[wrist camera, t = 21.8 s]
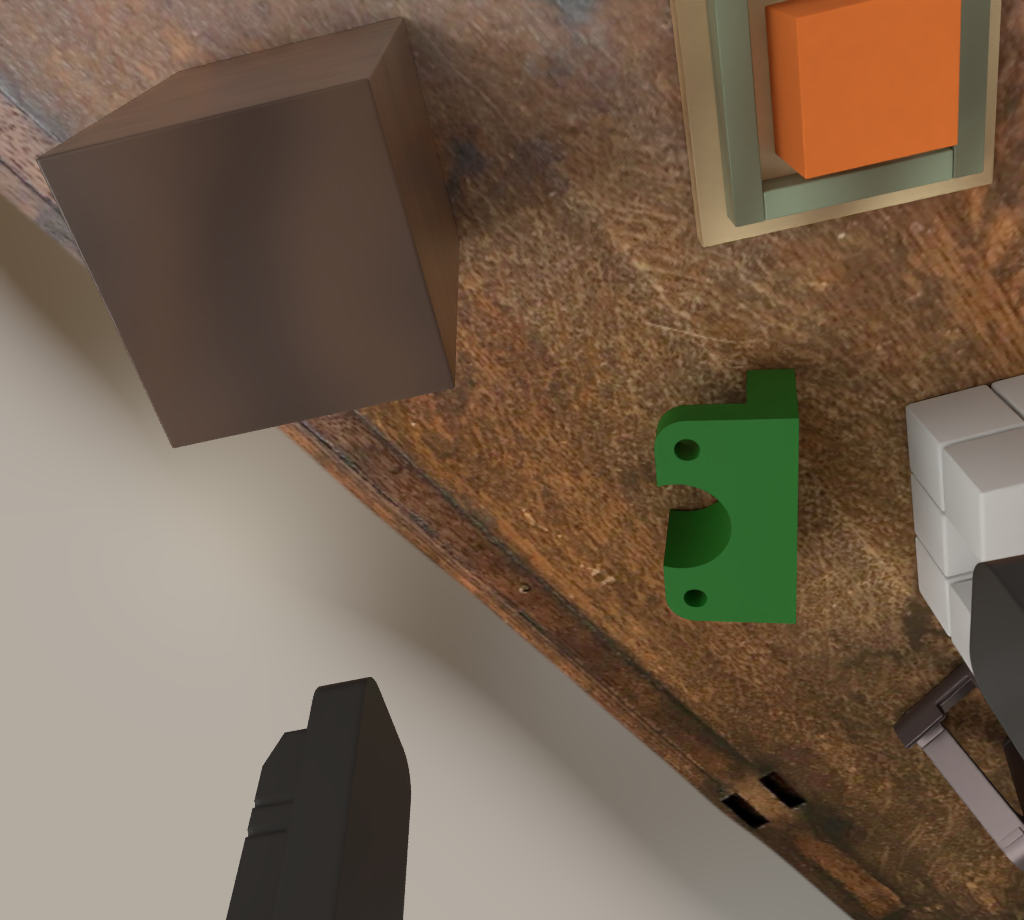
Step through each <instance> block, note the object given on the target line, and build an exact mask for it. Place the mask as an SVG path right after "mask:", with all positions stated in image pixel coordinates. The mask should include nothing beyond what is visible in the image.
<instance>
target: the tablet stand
mask: <svg viewBox="0 0 1024 920" xmlns="http://www.w3.org/2000/svg"><path fill="white" fill-rule="evenodd" d="M975 687H977V688H979V687H978V685H977V682H976V679H975V677H974V675H973V673H972V672H971V670H970V669H969V667H968V666H967V664H966V662H963V663H962V664H961V665H960V666H959V667H958V668H957V669H956V670H954V671H953V672H952V673H951V674H950V675H949V676H948V677H947V678H945V679H944V680H943V681H942V682H941V683H940V684H939V685H938V686H937V687H935V688H934V689H933V690H932V691H931V692H930V693H929V694H928V695H926V696H925V697H924V698H923V699H922V700H921V701H920V702H919V703H917V704H916V705H915V706H914V707H913V708H911V709H909V710H908V711H907V712H906V713H905V715H904V716H903V717H902V718H901V719H900V720H898V721H897V722H896V723H895V724H894V730H895V732H896V734H897V735H898V737H899V738H900V740H901V742H902V743H903V745H904V747H907V748H908V749H910V748H911V747H912V746H913V745H914V744H916V743H917V744H918V746H919V747H920V748H922V749H923V750H924V752H925V753H926V754H927V756H928V757H929V758H930V759H931V761H932V762H933V763H934V764H935V766H936V767H937V768H938V770H939V771H940V772H941V773H942V775H943V776H944V777H945V778H946V780H947V781H948V782H949V784H950V785H951V786H952V787H953V789H954V790H955V791H956V792H957V794H958V795H959V796H960V798H961V799H962V800H963V801H964V803H965V804H966V805H967V806H968V808H969V809H970V810H971V812H972V813H973V814H974V815H975V817H976V818H977V819H978V820H979V822H980V823H981V824H982V826H983V827H984V828H985V829H986V831H987V832H988V833H989V834H990V836H991V837H992V838H993V839H994V841H995V842H996V843H997V845H998V846H999V847H1000V848H1001V850H1002V851H1003V852H1004V853H1005V855H1006V856H1007V857H1008V858H1009V860H1010V861H1011V862H1012V863H1013V864H1015V865H1016V866H1017V867H1018V868H1020V869H1021V870H1023V871H1024V760H1023V758H1022V757H1021V755H1020V754H1019V752H1018V750H1017V749H1016V747H1015V746H1014V744H1013V743H1012V741H1011V739H1010V738H1009V736H1008V737H1007V738H1006V739H1005V740H1004V742H1003V745H1002V746H1003V748H1004V752H1005V756H1006V759H1007V762H1008V766H1009V769H1010V772H1011V776H1012V779H1013V782H1014V786H1015V789H1016V792H1017V796H1018V799H1019V802H1020V806H1021V809H1022V812H1023V816H1021V815H1019V814H1018V813H1017V812H1016V811H1015V810H1014V809H1013V808H1012V807H1011V806H1010V805H1009V803H1008V802H1007V801H1006V800H1005V798H1004V797H1003V796H1002V795H1001V794H1000V792H999V791H998V790H997V789H996V787H995V786H994V785H993V784H992V783H991V781H990V780H989V779H988V778H987V776H986V775H985V774H984V773H983V772H982V770H981V769H980V768H979V767H978V765H977V764H976V763H975V762H974V761H973V759H972V758H971V757H970V756H969V755H968V753H967V752H966V751H965V750H964V748H963V747H962V746H961V745H960V744H959V742H958V741H957V740H956V739H955V737H954V736H953V735H952V734H951V733H950V731H949V730H948V729H947V728H946V726H945V725H944V724H943V723H942V722H941V721H942V720H943V719H944V718H945V717H946V712H947V711H948V710H949V709H951V708H952V707H953V706H954V705H955V704H956V703H957V702H959V701H960V700H961V699H962V698H963V697H964V696H965V695H967V694H968V693H969V692H970V691H971V690H972V689H974V688H975Z"/></svg>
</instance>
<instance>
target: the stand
mask: <svg viewBox="0 0 1024 920" xmlns="http://www.w3.org/2000/svg"><path fill="white" fill-rule="evenodd" d="M37 163H38V165H39V167H40V169H41V172H42V174H43V176H44V178H45V180H46V182H47V184H48V186H49V188H50V191H51V193H52V195H53V197H54V199H55V201H56V203H57V205H58V207H59V210H60V212H61V214H62V216H63V218H64V220H65V222H66V224H67V226H68V229H69V231H70V233H71V235H72V237H73V239H74V241H75V243H76V245H77V248H78V250H79V252H80V254H81V256H82V258H83V260H84V262H85V264H86V267H87V269H88V271H89V273H90V275H91V277H92V279H93V281H94V283H95V285H96V288H97V290H98V292H99V294H100V296H101V298H102V300H103V302H104V304H105V306H106V309H107V311H108V313H109V315H110V317H111V319H112V321H113V323H114V326H115V328H116V330H117V332H118V334H119V336H120V338H121V340H122V342H123V345H124V347H125V349H126V351H127V353H128V355H129V357H130V359H131V361H132V363H133V365H134V368H135V370H136V372H137V374H138V376H139V378H140V380H141V383H142V385H143V387H144V389H145V391H146V393H147V395H148V397H149V399H150V402H151V404H152V406H153V408H154V410H155V412H156V414H157V416H158V418H159V420H160V423H161V424H162V427H163V429H164V431H165V433H166V435H167V437H168V439H169V442H170V444H171V446H172V447H173V448H177V447H181V446H186V445H191V444H195V443H200V442H204V441H209V440H214V439H218V438H223V437H228V436H233V435H237V434H242V433H246V432H251V431H256V430H261V429H265V428H270V427H275V426H279V425H284V424H289V423H293V422H298V421H303V420H307V419H312V418H317V417H321V416H326V415H331V414H335V413H340V412H345V411H349V410H354V409H359V408H363V407H368V406H373V405H377V404H382V403H387V402H391V401H396V400H401V399H405V398H410V397H415V396H419V395H424V394H429V393H433V392H438V391H443V390H447V389H452V388H454V387H455V365H456V334H457V302H458V271H459V236H458V232H457V229H456V225H455V221H454V217H453V213H452V209H451V205H450V201H449V197H448V193H447V189H446V185H445V181H444V177H443V173H442V170H441V166H440V162H439V158H438V154H437V150H436V146H435V142H434V138H433V134H432V130H431V126H430V122H429V118H428V114H427V111H426V107H425V103H424V99H423V95H422V91H421V87H420V83H419V79H418V75H417V71H416V67H415V63H414V59H413V55H412V52H411V48H410V44H409V40H408V36H407V32H406V28H405V24H404V20H403V18H402V17H397V18H393V19H389V20H385V21H381V22H377V23H373V24H369V25H365V26H360V27H356V28H352V29H348V30H344V31H340V32H336V33H332V34H328V35H324V36H320V37H316V38H312V39H308V40H304V41H300V42H296V43H292V44H288V45H284V46H280V47H276V48H272V49H267V50H263V51H259V52H255V53H251V54H247V55H243V56H239V57H235V58H231V59H227V60H223V61H219V62H215V63H211V64H207V65H203V66H199V67H195V68H191V69H187V70H183V71H179V72H177V73H176V74H174V75H172V76H171V77H169V78H168V79H166V80H164V81H163V82H161V83H159V84H158V85H156V86H154V87H153V88H151V89H149V90H148V91H146V92H145V93H143V94H141V95H140V96H138V97H136V98H135V99H133V100H131V101H130V102H128V103H127V104H125V105H123V106H122V107H120V108H118V109H117V110H115V111H113V112H112V113H110V114H109V115H107V116H105V117H104V118H102V119H100V120H99V121H97V122H95V123H94V124H92V125H91V126H89V127H87V128H86V129H84V130H82V131H81V132H79V133H77V134H76V135H74V136H73V137H71V138H69V139H68V140H66V141H64V142H63V143H61V144H59V145H58V146H56V147H55V148H53V149H51V150H50V151H48V152H46V153H45V154H43V155H41V156H40V157H38V158H37Z"/></svg>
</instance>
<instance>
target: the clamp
mask: <svg viewBox="0 0 1024 920" xmlns="http://www.w3.org/2000/svg"><path fill="white" fill-rule="evenodd" d="M654 451H655V464H656V476H657V487H659V486H663V485H669V484H682V485H689V486H693V487H697V488H699V489H702V490H704V491H706V492H708V493H709V494H711V495H713V496H714V497H715V498H716V499H717V500H719V501H718V502H716V503H715V504H713V505H711V506H709V507H707V508H704V509H701V510H696V511H676V510H672V509H670V514H669V522H668V531H667V539H666V548H665V556H664V565H663V567H664V580H665V593H666V601H667V604H668V606H669V607H670V609H671V610H672V611H673V612H674V613H676V614H677V615H679V616H680V617H683V618H685V619H689V620H695V621H727V622H761V623H794V624H796V583H797V518H798V453H799V413H798V402H797V390H796V379H795V369H794V368H792V369H764V370H747V403H743V404H705V405H682V406H678V407H675V408H673V409H671V410H669V411H668V412H666V413H665V414H664V415H663V416H662V418H661V419H660V421H659V423H658V426H657V432H656V439H655V446H654Z"/></svg>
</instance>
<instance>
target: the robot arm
mask: <svg viewBox="0 0 1024 920" xmlns="http://www.w3.org/2000/svg"><path fill="white" fill-rule="evenodd" d="M969 653H970V661H971V666H972V670H973V673H974V677H975V679H976V682H977V685H978V687H979V689H980V691H981V693H982V695H983V697H984V699H985V700H986V702H987V703H988V705H989V707H990V708H991V710H992V711H993V713H994V714H995V716H996V718H997V719H998V721H999V722H1000V724H1001V725H1002V727H1003V729H1004V730H1005V732H1006V733H1007V735H1008V736H1009V738H1010V739H1011V741H1012V743H1013V744H1014V746H1015V747H1016V749H1017V750H1018V752H1019V754H1020V755H1021V757H1022V758H1023V760H1024V554H1022V555H1017V556H1012V557H1007V558H1001V559H996V560H991V561H986V562H980V563H978V564H977V565H976V566H975V568H974V571H973V579H972V600H971V621H970V642H969ZM254 802H255V808H253V809H252V813H251V817H250V822H249V826H248V837H246V838H245V842H244V847H243V851H242V855H241V859H240V864H239V868H238V872H237V876H236V880H235V885H234V889H233V893H232V897H231V901H230V906H229V910H228V914H227V918H226V920H403V911H404V895H405V881H406V865H407V849H408V835H409V820H410V805H411V784H410V775H409V768H408V763H407V759H406V755H405V752H404V749H403V747H402V745H401V742H400V739H399V737H398V734H397V732H396V729H395V727H394V725H393V722H392V719H391V717H390V714H389V712H388V709H387V707H386V705H385V702H384V700H383V697H382V695H381V692H380V690H379V687H378V685H377V683H376V681H375V680H374V679H373V678H372V677H368V678H362V679H357V680H351V681H346V682H341V683H336V684H330V685H325V686H321V687H318V688H317V689H316V691H315V693H314V696H313V701H312V706H311V712H310V716H309V721H308V726H307V729H302V730H297V731H291V732H286V733H284V735H283V736H282V738H281V739H280V741H279V742H278V744H277V745H276V747H275V748H274V750H273V751H272V753H271V754H270V756H269V758H268V759H267V760H266V762H265V763H264V765H263V767H262V771H261V775H260V779H259V784H258V788H257V792H256V797H255V800H254Z"/></svg>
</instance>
